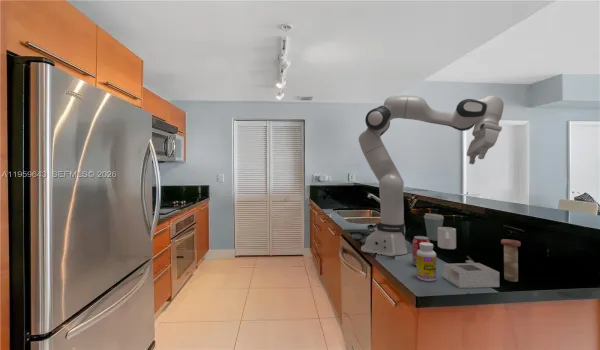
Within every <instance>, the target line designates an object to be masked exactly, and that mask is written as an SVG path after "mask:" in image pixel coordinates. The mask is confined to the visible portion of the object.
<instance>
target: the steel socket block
mask: <svg viewBox="0 0 600 350" xmlns="http://www.w3.org/2000/svg"><path fill="white" fill-rule="evenodd" d="M442 278H443V279H445V280H447V281H448V282H449V283H451V284H453V285H454V286H455V287H457V288H458V289H469V288H470V289H471V288H472V289H474V288H500V287H501V286H500V271H498V270H496V269H493V268H492V267H489V266H487V265H486V264H485V265H484V264H482V263H480V262H474V263H467V262H463V263H461V262H460V263H459V262H458V263H442Z"/></svg>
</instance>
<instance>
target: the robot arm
mask: <svg viewBox="0 0 600 350" xmlns="http://www.w3.org/2000/svg"><path fill="white" fill-rule="evenodd" d="M504 106H505V105H504V101H503V99H502V98H500V97H498V96H497V95H487V96H484V97H482V98H476V99H475V98H465V99H463V100H460V102H459V103H458V104H457V106H456V108H455V111H454V112H447V111H440V110H436V109H433V108H432V107H430V106H429V104H428V103H427V101H426V100H425V98H423V97H421V96H417V95H393V96H388V97H386V99H385V100H384V102H383V105H380V106H378V107H376V108H373V109H371V110H369V111H368V112H367V113H366V115H365V124H366V127H367V128H366V130H364V131H362V132H361V133H360V135H359V137H358V143H359V146H360V149H361V152H362V153H363V155H364V158H365V159H366V162H367V164H368V167H370V170H371V171H372V173H373V174H374V176H375V177H376V179H377V181H378V186H379V187H378V191H379V204H380V221H377V223H376V230H374V231H373V232H371V234H369V235H368V236H367V237H366V240H365V243H364V244H363V245H362V246H361V247H360V251H361V252H364V253H370V254H375V253H377V254H376V255H381V254H382V255H381V256H387V257H394V256H400V255H407V254H408V249H407V245H406V237H405V235H406V223H405V219H404V217H405V216H404V215H405V212H404V211H405V207H404V186H405V184H404V180H403V178H402V176H401V174H400V172H399V171H398V169H397V166H396V165H395V163H394V162H393V160H392V158H391V155H390V154H389V151H388V149H387V148H386V146H385V144H384V142H383V141H382V138H381V137H382V135H384V134H385V133H386V132H387V131H388V129H389V128H390V126H391V121H392V120H394V119H403V120H413V121H415V120H416V121H420V122H424V123H429V124H435V125H441V126H446V127H450V128H453V129H455V130H457V131H461V132H462V131H469V130H470V129H472V128H473V129H472V133H471V135H472V136H473V137H474V138H473V139H472V140H471V142H470V143H469V146H468V147H467V148H468V149H467V150H466V156H467V157H469V162H468V164H469V165H474V164H475V162H476V157H478V159H479V160H483V159H484V160H485V157H486V154H487V152H488V150H490V149H491V148H492V147H494V146H495V145H496V143H497V141H498V138H499V134H500V133H501V132H502V130H503V127H502V126H501V125H499V123H500V120H501V119H502V118H503V117H502V116H503V111H504Z"/></svg>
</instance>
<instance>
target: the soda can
mask: <svg viewBox="0 0 600 350" xmlns="http://www.w3.org/2000/svg"><path fill="white" fill-rule="evenodd" d="M422 242H426V243H431V240H429V238H428V237H427V236H424V235H416V236H415V235H414V236H413V240H412V247H411V248H412V263H413V265H414V266H415V265H416V266H415V267H417V251H418V250H419V249H420V247H419V243H422Z"/></svg>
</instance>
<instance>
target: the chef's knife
mask: <svg viewBox="0 0 600 350" xmlns="http://www.w3.org/2000/svg"><path fill="white" fill-rule="evenodd" d="M465 258H467V259H468V260H465V263H475V261H474V260H473V259H472V258H471V257H470V256H469V255H466V256H465Z"/></svg>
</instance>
